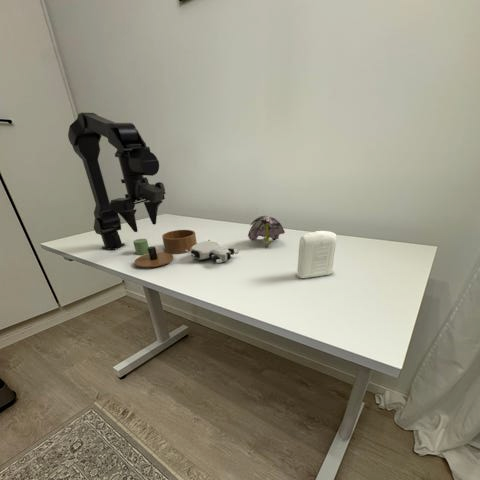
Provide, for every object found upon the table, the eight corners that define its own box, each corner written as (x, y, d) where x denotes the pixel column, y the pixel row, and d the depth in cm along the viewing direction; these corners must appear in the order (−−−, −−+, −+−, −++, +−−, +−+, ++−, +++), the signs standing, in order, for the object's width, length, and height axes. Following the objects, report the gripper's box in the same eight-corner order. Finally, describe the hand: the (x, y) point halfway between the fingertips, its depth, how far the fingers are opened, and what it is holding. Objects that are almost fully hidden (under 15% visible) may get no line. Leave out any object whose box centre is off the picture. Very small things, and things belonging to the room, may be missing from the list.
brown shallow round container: (158, 252, 104) (155, 237, 101) (177, 242, 113) (174, 228, 110) (185, 255, 100) (183, 240, 97) (202, 244, 109) (200, 230, 106)
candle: (133, 253, 104) (130, 242, 101) (142, 249, 108) (139, 238, 105) (143, 255, 102) (140, 243, 100) (152, 250, 106) (149, 239, 103)
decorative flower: (288, 212, 105) (274, 208, 92) (292, 243, 107) (279, 243, 94) (254, 221, 112) (237, 219, 99) (258, 250, 114) (242, 251, 101)
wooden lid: (126, 266, 93) (122, 252, 90) (151, 253, 103) (148, 240, 100) (158, 271, 88) (154, 256, 85) (181, 257, 98) (178, 243, 95)
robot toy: (241, 259, 96) (208, 249, 103) (241, 246, 93) (207, 237, 100) (218, 271, 87) (184, 260, 94) (218, 258, 85) (183, 247, 92)
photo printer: (327, 269, 82) (332, 227, 76) (334, 274, 79) (340, 231, 72) (294, 274, 81) (297, 231, 74) (300, 280, 77) (304, 236, 71)
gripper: (132, 178, 72) (146, 238, 80) (173, 170, 86) (181, 222, 94) (100, 178, 76) (117, 235, 84) (145, 171, 90) (155, 220, 98)
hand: (145, 228), depth 90 cm, fingers open, 9 cm apart
